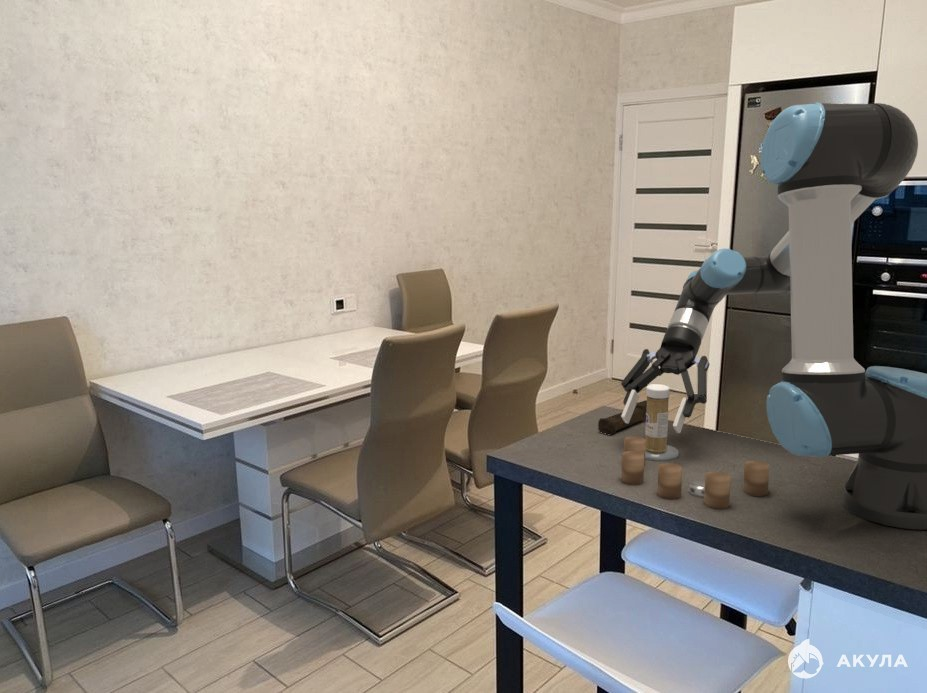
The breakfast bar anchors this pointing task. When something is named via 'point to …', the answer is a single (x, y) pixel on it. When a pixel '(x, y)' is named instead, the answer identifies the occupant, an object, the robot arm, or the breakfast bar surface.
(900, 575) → the breakfast bar surface
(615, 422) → the dark brown elongated piece
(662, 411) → the sprinkles bottle
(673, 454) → the coaster
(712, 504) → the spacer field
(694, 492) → the silver rounded piece
